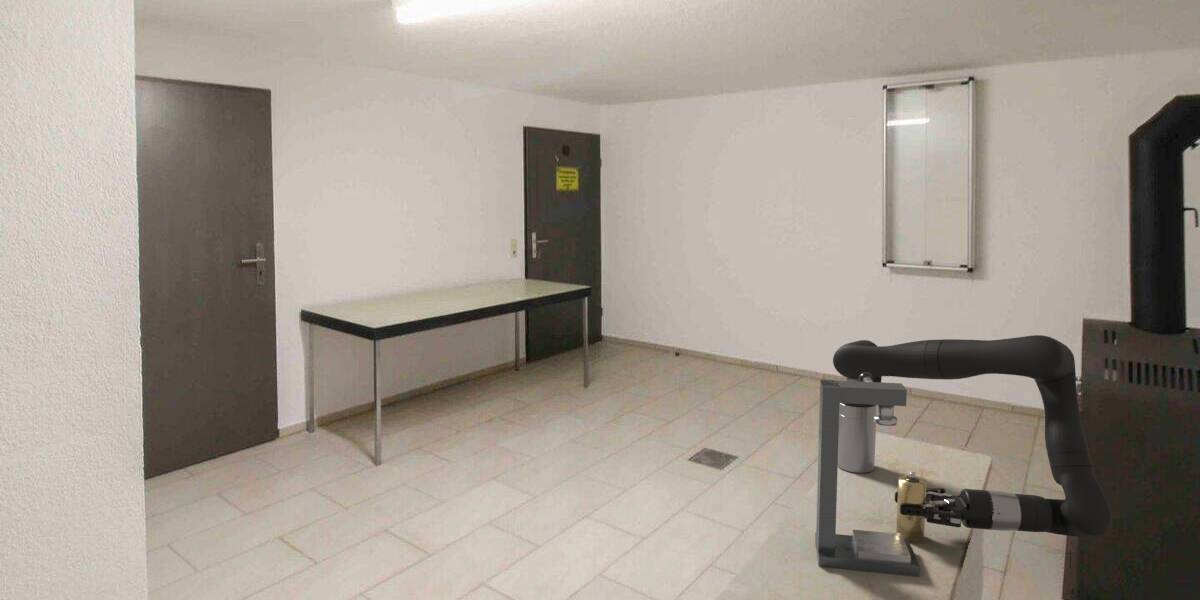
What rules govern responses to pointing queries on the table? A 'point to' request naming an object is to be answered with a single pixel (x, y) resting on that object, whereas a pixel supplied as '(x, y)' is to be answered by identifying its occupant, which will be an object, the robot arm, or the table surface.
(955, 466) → the table surface
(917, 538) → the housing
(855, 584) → the table surface
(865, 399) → the press
